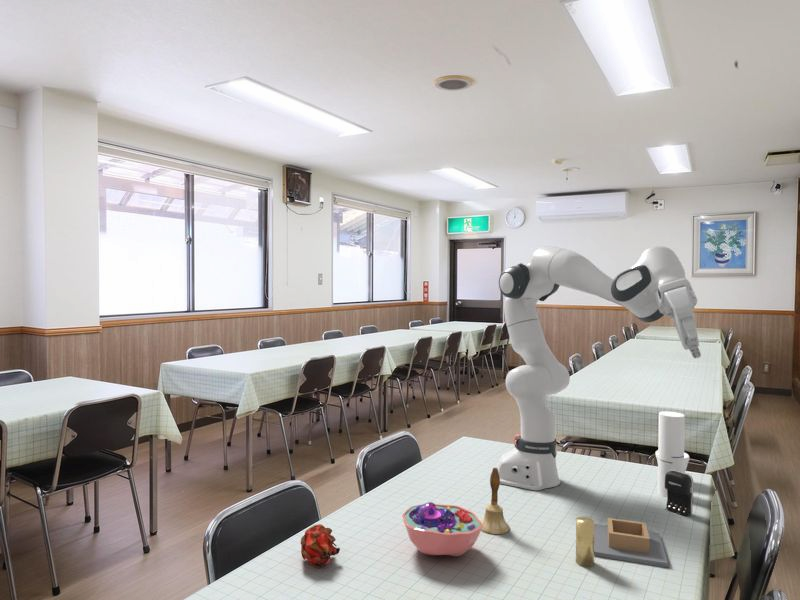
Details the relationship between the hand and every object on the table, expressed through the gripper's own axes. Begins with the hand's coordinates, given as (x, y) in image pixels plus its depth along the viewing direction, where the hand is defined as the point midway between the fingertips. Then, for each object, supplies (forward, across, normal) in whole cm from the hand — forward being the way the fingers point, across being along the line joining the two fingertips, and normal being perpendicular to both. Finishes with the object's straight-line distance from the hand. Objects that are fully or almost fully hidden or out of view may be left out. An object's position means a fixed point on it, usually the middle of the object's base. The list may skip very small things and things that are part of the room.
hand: (695, 347), depth 123 cm
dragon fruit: (+38, +16, -93) cm, 102 cm away
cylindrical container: (+16, -62, -17) cm, 66 cm away
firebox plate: (+35, -25, -29) cm, 52 cm away
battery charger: (+24, -50, -16) cm, 58 cm away
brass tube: (+40, -13, -38) cm, 56 cm away
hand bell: (+28, -17, -60) cm, 69 cm away
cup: (+10, -72, -16) cm, 74 cm away
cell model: (+36, -1, -69) cm, 78 cm away
